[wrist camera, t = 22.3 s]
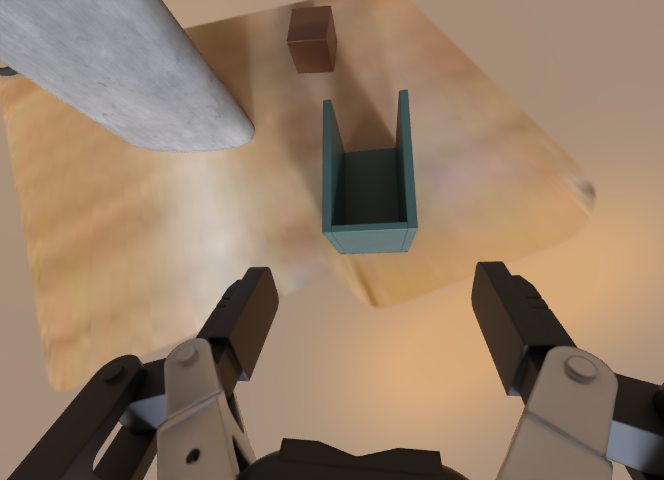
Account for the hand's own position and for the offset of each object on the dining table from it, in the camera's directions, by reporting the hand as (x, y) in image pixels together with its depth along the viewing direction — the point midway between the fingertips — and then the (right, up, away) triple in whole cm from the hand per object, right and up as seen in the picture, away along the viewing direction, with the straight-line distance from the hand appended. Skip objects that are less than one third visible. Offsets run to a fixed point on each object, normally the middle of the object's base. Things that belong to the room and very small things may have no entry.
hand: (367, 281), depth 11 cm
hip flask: (-18, +13, +21) cm, 31 cm away
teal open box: (+2, +5, +15) cm, 16 cm away
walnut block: (-4, +20, +18) cm, 27 cm away
